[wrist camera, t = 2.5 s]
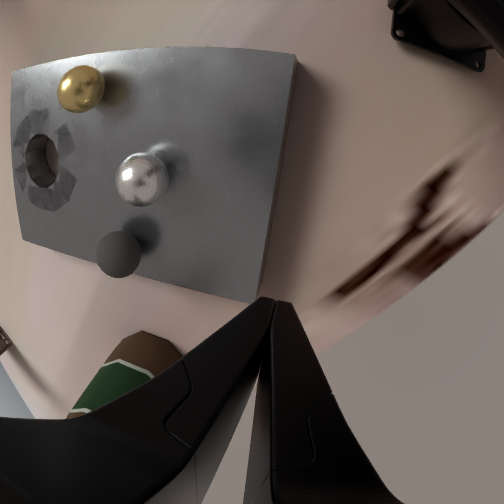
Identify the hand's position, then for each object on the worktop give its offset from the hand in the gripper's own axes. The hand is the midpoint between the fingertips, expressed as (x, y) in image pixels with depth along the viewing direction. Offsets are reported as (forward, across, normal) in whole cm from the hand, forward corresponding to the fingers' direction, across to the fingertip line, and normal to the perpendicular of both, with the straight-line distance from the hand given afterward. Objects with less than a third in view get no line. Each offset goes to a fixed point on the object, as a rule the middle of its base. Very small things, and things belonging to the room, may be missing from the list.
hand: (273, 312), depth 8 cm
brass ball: (+9, +14, -6) cm, 17 cm away
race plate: (+13, +13, 0) cm, 18 cm away
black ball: (+9, +11, +6) cm, 15 cm away
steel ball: (+9, +9, 0) cm, 13 cm away
